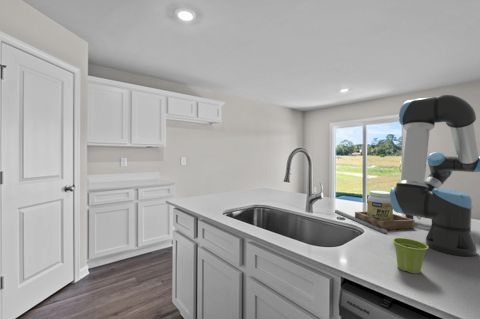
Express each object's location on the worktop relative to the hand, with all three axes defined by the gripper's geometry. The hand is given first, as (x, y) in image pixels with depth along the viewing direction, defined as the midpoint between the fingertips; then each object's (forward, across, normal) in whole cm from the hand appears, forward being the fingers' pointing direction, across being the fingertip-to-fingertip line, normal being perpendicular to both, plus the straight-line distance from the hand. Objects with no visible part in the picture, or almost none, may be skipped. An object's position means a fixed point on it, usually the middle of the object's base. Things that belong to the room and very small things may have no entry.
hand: (406, 214), depth 128 cm
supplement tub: (+14, +2, +7) cm, 16 cm away
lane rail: (+22, +6, +15) cm, 27 cm away
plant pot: (+36, -45, +29) cm, 64 cm away
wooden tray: (+10, 0, +4) cm, 11 cm away
